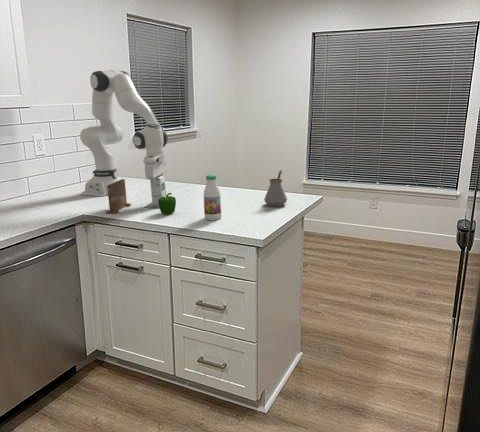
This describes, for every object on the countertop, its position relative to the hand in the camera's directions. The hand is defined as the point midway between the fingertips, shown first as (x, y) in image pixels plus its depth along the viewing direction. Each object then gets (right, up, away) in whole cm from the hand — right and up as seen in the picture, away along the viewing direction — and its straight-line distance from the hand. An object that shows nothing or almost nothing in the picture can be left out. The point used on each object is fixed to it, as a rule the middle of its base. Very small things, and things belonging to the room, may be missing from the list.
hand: (157, 184), depth 232 cm
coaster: (+1, -11, +3) cm, 11 cm away
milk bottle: (+30, -18, -24) cm, 42 cm away
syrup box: (+1, -10, +3) cm, 11 cm away
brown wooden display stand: (-19, -13, -3) cm, 23 cm away
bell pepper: (+8, -15, -13) cm, 22 cm away
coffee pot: (+62, -10, +1) cm, 62 cm away
